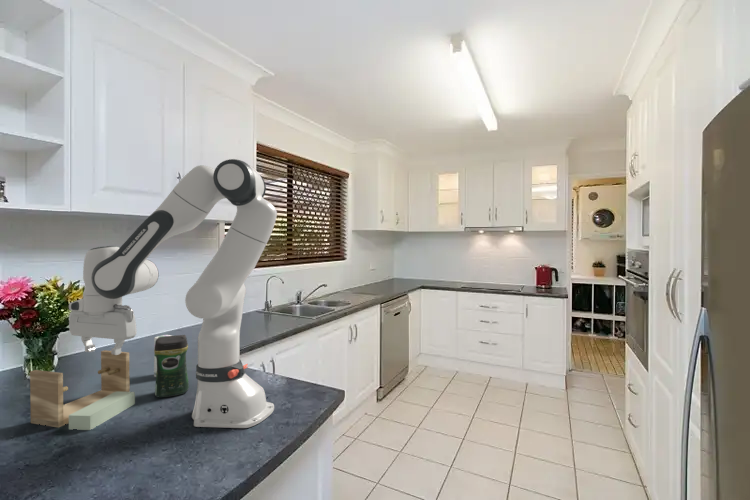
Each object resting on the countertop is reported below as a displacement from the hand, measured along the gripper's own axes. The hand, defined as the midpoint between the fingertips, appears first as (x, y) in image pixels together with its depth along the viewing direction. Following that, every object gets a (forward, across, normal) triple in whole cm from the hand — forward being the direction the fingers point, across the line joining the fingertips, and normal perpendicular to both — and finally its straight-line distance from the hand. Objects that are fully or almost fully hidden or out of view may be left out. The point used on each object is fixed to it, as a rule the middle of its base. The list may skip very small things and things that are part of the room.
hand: (102, 353), depth 104 cm
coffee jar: (+18, -6, -18) cm, 26 cm away
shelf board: (+18, 0, 0) cm, 18 cm away
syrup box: (+18, +9, -31) cm, 37 cm away
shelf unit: (+18, +10, -2) cm, 20 cm away
